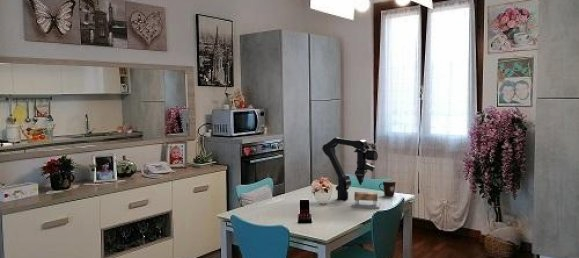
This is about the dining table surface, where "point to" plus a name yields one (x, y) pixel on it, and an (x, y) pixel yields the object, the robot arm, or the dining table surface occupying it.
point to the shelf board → (365, 196)
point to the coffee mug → (388, 187)
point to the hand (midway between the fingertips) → (361, 183)
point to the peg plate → (365, 204)
